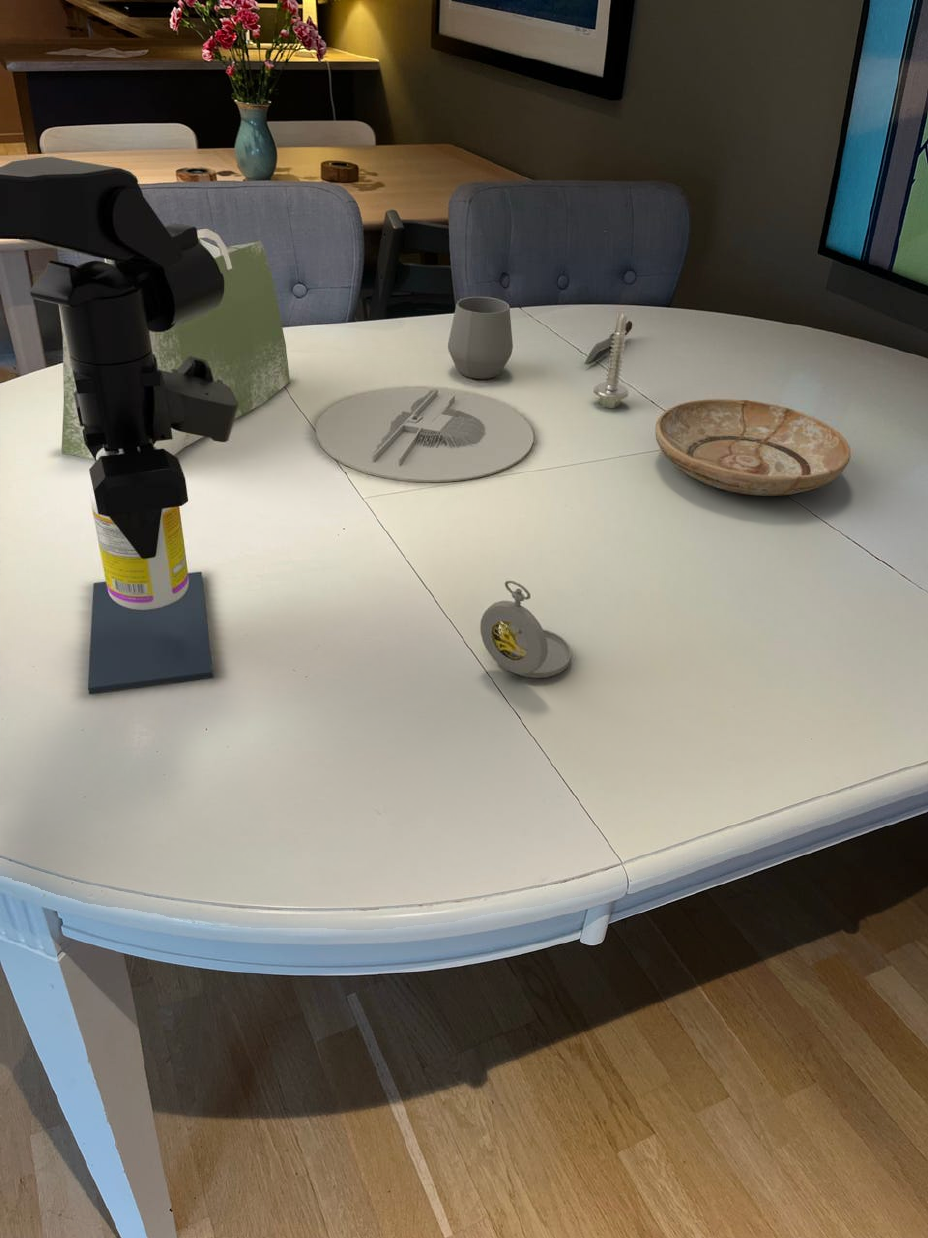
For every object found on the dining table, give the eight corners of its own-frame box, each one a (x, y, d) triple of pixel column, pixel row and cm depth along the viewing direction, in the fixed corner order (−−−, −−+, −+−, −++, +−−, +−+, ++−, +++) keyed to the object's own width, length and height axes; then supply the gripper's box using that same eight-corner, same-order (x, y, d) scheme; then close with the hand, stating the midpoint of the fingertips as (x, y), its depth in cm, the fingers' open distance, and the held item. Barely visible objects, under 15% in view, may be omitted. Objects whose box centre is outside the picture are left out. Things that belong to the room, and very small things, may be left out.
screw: (625, 413, 132) (590, 409, 132) (627, 399, 135) (593, 395, 136) (640, 319, 124) (603, 315, 125) (641, 308, 128) (605, 304, 128)
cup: (464, 356, 146) (468, 290, 140) (520, 369, 143) (526, 302, 137) (436, 376, 139) (438, 307, 133) (494, 389, 136) (499, 319, 130)
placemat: (213, 677, 81) (212, 671, 81) (88, 693, 79) (87, 688, 78) (202, 576, 94) (201, 571, 93) (94, 587, 91) (93, 582, 91)
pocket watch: (570, 640, 88) (583, 547, 82) (569, 698, 81) (583, 602, 76) (482, 631, 89) (489, 538, 83) (474, 689, 82) (480, 592, 76)
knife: (587, 371, 144) (590, 352, 142) (578, 369, 144) (580, 349, 142) (633, 338, 157) (636, 320, 155) (624, 336, 157) (627, 318, 156)
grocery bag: (210, 364, 138) (191, 193, 125) (294, 382, 135) (284, 207, 121) (57, 451, 114) (13, 250, 100) (155, 475, 110) (123, 269, 97)
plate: (370, 376, 138) (370, 368, 137) (557, 411, 131) (558, 402, 130) (276, 454, 116) (275, 445, 115) (494, 500, 109) (495, 491, 108)
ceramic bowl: (862, 463, 122) (873, 427, 119) (806, 538, 106) (818, 498, 103) (692, 416, 132) (699, 381, 129) (618, 477, 116) (624, 438, 113)
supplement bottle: (174, 562, 85) (156, 429, 78) (201, 599, 81) (185, 462, 73) (97, 582, 82) (72, 444, 75) (122, 621, 78) (97, 480, 70)
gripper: (249, 387, 65) (266, 578, 74) (201, 302, 79) (220, 472, 88) (76, 405, 61) (116, 604, 70) (57, 313, 75) (92, 489, 84)
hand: (143, 535), depth 78 cm, fingers closed on supplement bottle, 7 cm apart
